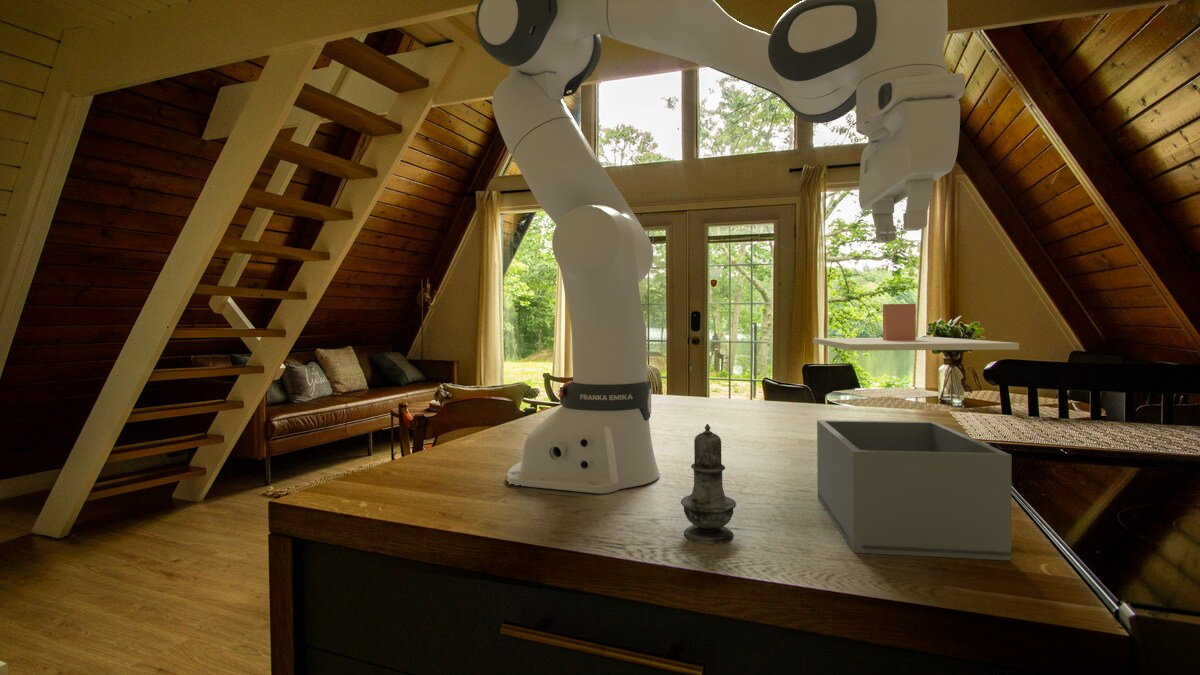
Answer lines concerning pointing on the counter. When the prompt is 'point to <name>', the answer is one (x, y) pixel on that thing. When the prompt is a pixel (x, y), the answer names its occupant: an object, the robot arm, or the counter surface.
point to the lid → (909, 336)
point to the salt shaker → (708, 494)
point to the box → (914, 489)
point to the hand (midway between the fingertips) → (899, 236)
